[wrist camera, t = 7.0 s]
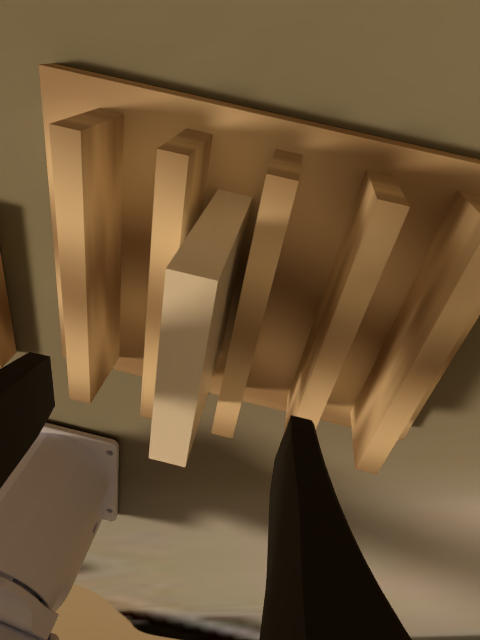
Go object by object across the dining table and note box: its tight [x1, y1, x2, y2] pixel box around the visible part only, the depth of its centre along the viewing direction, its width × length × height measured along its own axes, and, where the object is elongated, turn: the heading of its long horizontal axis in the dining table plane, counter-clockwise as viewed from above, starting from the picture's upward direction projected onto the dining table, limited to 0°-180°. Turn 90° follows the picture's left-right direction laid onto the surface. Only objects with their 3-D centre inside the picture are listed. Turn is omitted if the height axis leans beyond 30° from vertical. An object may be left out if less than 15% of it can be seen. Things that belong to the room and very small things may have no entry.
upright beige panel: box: [149, 189, 253, 467], centre depth 16 cm, size 8×1×7 cm, turn 170°
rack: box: [39, 63, 480, 474], centre depth 18 cm, size 14×19×4 cm
